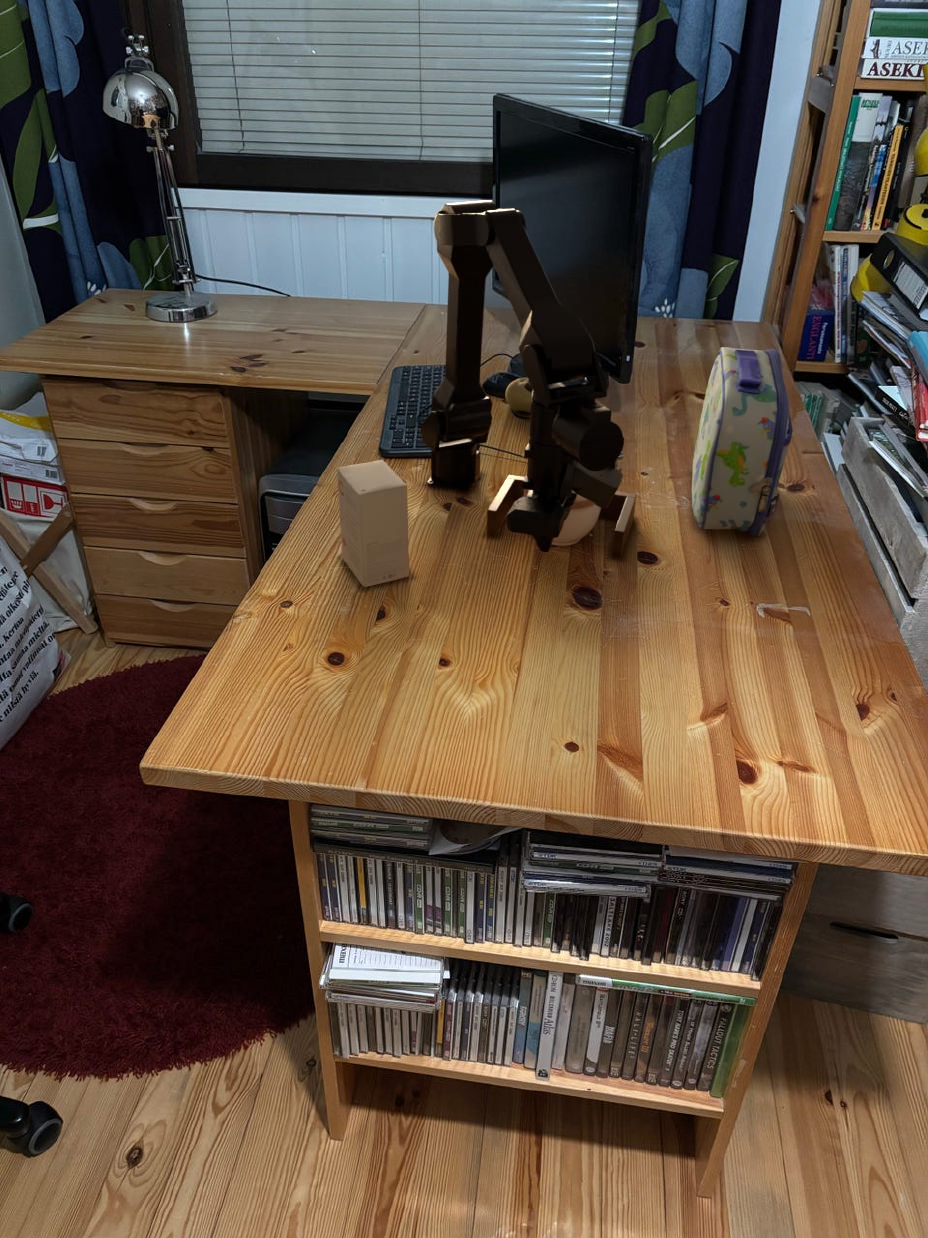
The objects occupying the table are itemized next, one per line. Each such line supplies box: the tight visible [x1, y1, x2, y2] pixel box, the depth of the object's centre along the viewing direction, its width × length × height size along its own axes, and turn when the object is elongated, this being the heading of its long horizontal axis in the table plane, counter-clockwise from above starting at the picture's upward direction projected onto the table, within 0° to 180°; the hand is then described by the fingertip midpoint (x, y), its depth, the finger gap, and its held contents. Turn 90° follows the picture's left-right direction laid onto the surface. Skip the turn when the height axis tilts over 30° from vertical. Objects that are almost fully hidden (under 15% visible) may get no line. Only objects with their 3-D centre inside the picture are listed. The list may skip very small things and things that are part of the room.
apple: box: [504, 377, 532, 414], centre depth 162 cm, size 6×8×6 cm
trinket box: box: [523, 489, 601, 547], centre depth 125 cm, size 11×11×9 cm
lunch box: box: [691, 346, 794, 537], centre depth 130 cm, size 26×11×21 cm, turn 169°
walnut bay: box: [486, 474, 637, 559], centre depth 128 cm, size 18×11×4 cm, turn 73°
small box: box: [336, 459, 410, 588], centre depth 116 cm, size 8×6×13 cm
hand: (545, 551), depth 119 cm, fingers closed
